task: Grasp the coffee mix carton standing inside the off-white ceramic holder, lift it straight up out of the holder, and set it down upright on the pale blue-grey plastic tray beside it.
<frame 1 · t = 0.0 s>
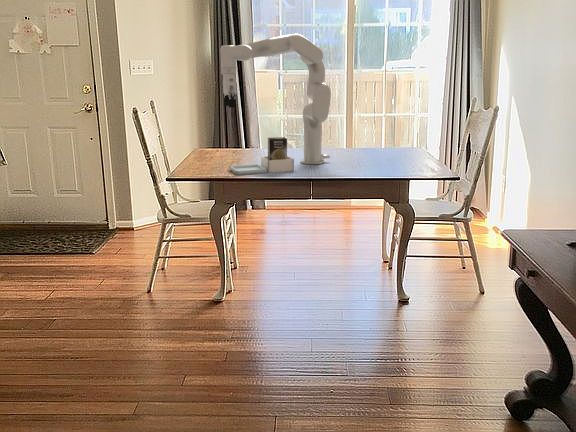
hand: (229, 106, 287), 31 cm above the table, tool pointing down, fingers open, 9 cm apart
tray: (248, 171, 287), on the table
coffee box: (277, 169, 292), resting in holder
holder: (277, 169, 292), on the table
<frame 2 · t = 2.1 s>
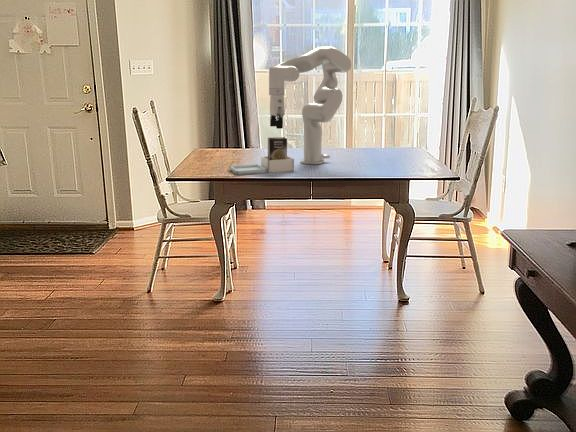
hand: (276, 127, 285), 21 cm above the table, tool pointing down, fingers open, 9 cm apart
nothing on the table moved.
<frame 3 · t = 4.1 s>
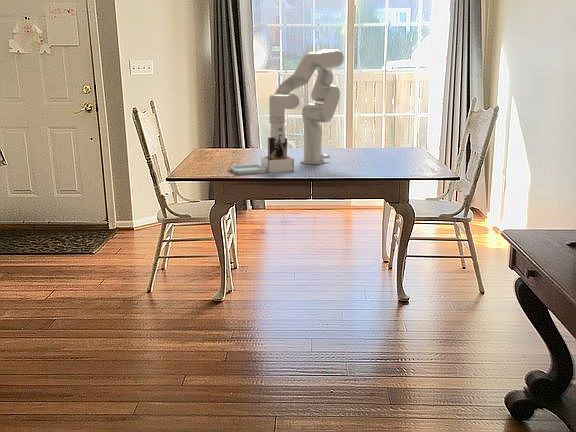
hand: (277, 155, 290), 7 cm above the table, tool pointing down, fingers closed on coffee box, 6 cm apart
coffee box: (277, 169, 292), resting in holder, touching gripper
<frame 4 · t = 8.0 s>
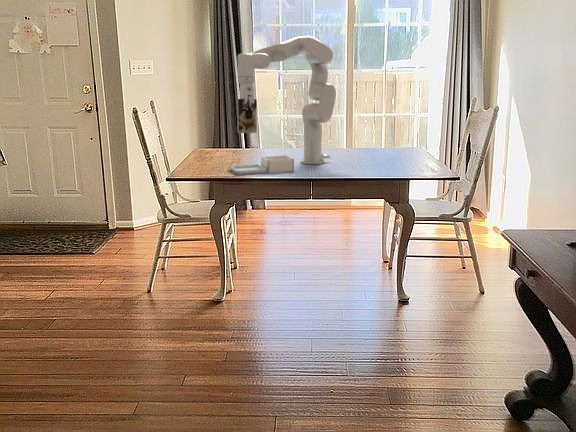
hand: (246, 117, 279), 27 cm above the table, tool pointing down, fingers closed on coffee box, 6 cm apart
coffee box: (247, 132, 281), point 19 cm above the table, touching gripper
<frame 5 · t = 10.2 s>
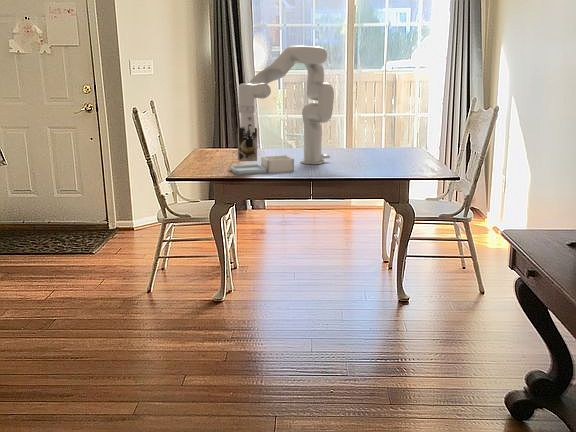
hand: (247, 145, 283), 13 cm above the table, tool pointing down, fingers closed on coffee box, 6 cm apart
coffee box: (247, 160, 285), point 5 cm above the table, touching gripper
when the fingers open (10 cm above the table, at t = 11.9 s): coffee box drops 2 cm, resting on tray.
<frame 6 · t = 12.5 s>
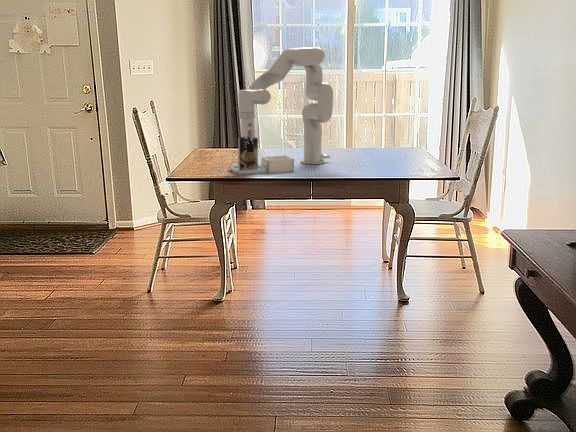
hand: (247, 150, 284), 11 cm above the table, tool pointing down, fingers open, 9 cm apart
coffee box: (248, 170, 287), point 1 cm above the table, touching tray
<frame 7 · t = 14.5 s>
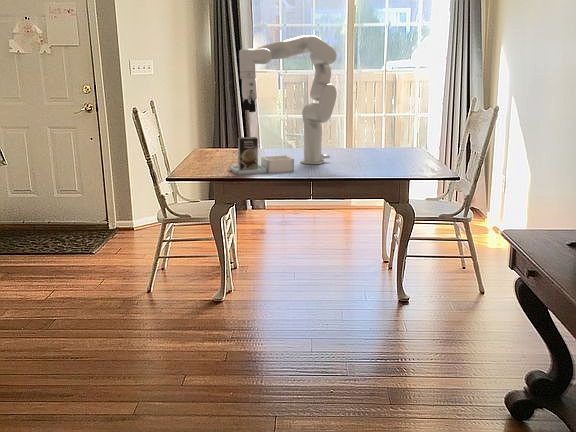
hand: (249, 111, 283), 29 cm above the table, tool pointing down, fingers open, 9 cm apart
nothing on the table moved.
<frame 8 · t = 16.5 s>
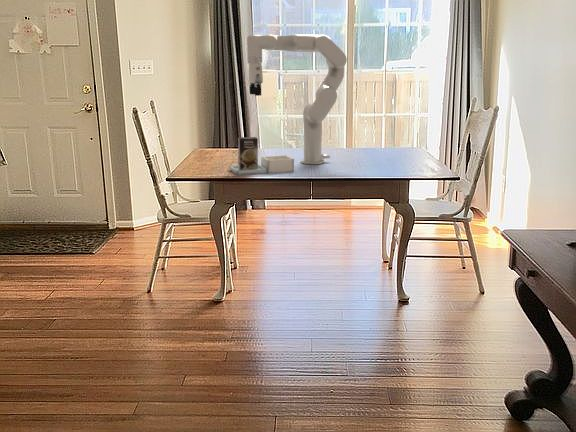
hand: (255, 94, 295), 36 cm above the table, tool pointing down, fingers open, 9 cm apart
nothing on the table moved.
at the end: coffee box inside the target area on the tray (0.2 cm from its centre), point 0.6 cm above the tray's base; coffee box tilted 0°; the gripper is holding nothing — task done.
